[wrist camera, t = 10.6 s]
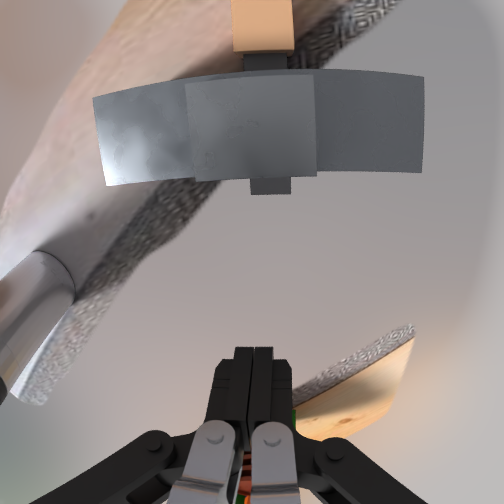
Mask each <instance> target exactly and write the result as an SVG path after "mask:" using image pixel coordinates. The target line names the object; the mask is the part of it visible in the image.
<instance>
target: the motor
mask: <svg viewBox="0 0 504 504" xmlns="http://www.w3.org/2000/svg"><path fill="white" fill-rule="evenodd" d="M292 421H293V426H294V428H295V429H296V419H295V410H292ZM251 488H252V447H251V450H250V451H244V455H243V464H242V472H241V477H240V482H239V487H238V491H237V496H236V501H235V504H250V497H251Z"/></svg>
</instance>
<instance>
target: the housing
mask: <svg viewBox="0 0 504 504" xmlns="http://www.w3.org/2000/svg"><path fill="white" fill-rule="evenodd" d="M93 106H94V114H95V121H96V128H97V135H98V141H99V147H100V153H101V159H102V164H103V170H104V175H105V180H106V185H107V186H113V185H121V184H129V183H138V182H147V181H157V180H167V179H177V178H189V177H195V180H196V182H200V181H214V180H230V179H248V178H271V177H303V176H305V177H306V176H317V171H376V172H377V171H378V172H411V173H421V172H422V159H423V141H424V77H420V76H412V75H405V74H396V73H386V72H374V71H361V70H341V69H280V70H259V71H245V72H233V73H223V74H214V75H206V76H198V77H191V78H184V79H178V80H172V81H166V82H160V83H155V84H150V85H145V86H140V87H135V88H130V89H126V90H122V91H117V92H113V93H109V94H105V95H101V96H98V97H94V98H93Z"/></svg>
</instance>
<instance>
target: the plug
mask: <svg viewBox="0 0 504 504" xmlns="http://www.w3.org/2000/svg"><path fill="white" fill-rule="evenodd" d="M231 14H232V32H233V50H234V53H236V54H237V55H238V56H239V57H240V58H243V60H244V72H245V71H259V70H280V69H288V68H287V57H288V56H292V54H293V52H294V32H293V16H292V2H291V0H231ZM250 188H251V195H265V194H267V195H268V194H291V177H271V178H250Z"/></svg>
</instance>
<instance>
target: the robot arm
mask: <svg viewBox="0 0 504 504" xmlns="http://www.w3.org/2000/svg"><path fill="white" fill-rule="evenodd" d="M74 299H75V287H74V284H73V281H72V279H71V276H70V275H69V273H68V271H67V270H66V268H65V267H64V266H63V265H62V264H61V263H60V262H59V261H58V260H57V259H56V258H54V257H53V256H51V255H50V254H47V253H45V252H41V251H36V252H33V253H30V254H29V255H28V256H27V257H26V258H25V259H24V260H22V261H21V262H20V263H19V264H18V265H17V266H16V267H14V268H13V269H12V270H11V271H10V272H9V273H8V274H7V275H6V276H4V277H3V278H2V279H1V280H0V405H1V404H2V402H3V401H4V399H5V397H6V396H7V394H8V393H9V391H10V390H11V388H12V387H13V385H14V383H15V382H16V380H17V379H18V377H19V376H20V374H21V373H22V371H23V370H24V368H25V367H26V365H27V364H28V362H29V361H30V360H31V358H32V357H33V355H34V354H35V352H36V351H37V350H38V348H39V347H40V345H41V344H42V343H43V341H44V340H45V339H46V337H47V336H48V334H49V333H50V332H51V330H52V329H53V328H54V326H55V325H56V324H57V322H58V321H59V320H60V319H61V317H62V316H63V315H64V313H65V312H66V311H67V310H68V308H69V307H70V306H71V304H72V303H73V301H74ZM251 447H252V488H251V497H250V504H301V501H300V492H299V487H301V488H305V489H309V490H310V491H311V492H312V493H313V494H314V495H315V496H316V497H317V498H318V499H319V500H320V501H321V502H322V503H323V504H428V503H426V502H425V501H423V500H422V499H421V498H419V497H418V496H417V495H415V494H414V493H413V492H411V491H410V490H409V489H407V488H406V487H405V486H404V485H402V484H401V483H400V482H398V481H397V480H396V479H394V478H393V477H392V476H391V475H390V474H388V473H387V472H386V471H385V470H383V469H382V468H381V467H380V466H378V465H377V464H376V463H375V462H373V461H372V460H371V459H370V458H368V457H367V456H366V455H365V454H364V453H362V452H361V451H360V450H359V449H358V448H357V447H355V446H354V445H353V444H352V443H350V442H349V441H348V440H346V439H343V438H339V437H333V438H328V439H325V440H323V441H322V442H321V441H317V440H313V439H309V438H306V437H304V436H302V435H300V434H299V433H298V432H297V431H296V429H295V428H294V426H293V421H292V369H291V367H290V365H289V363H288V362H287V360H286V359H282V360H281V359H280V360H279V359H278V360H277V359H276V360H274V356H273V347H255V351H254V347H236V348H235V353H234V359H222V361H221V362H220V363H219V364H218V366H217V367H216V369H215V373H214V378H213V383H212V389H211V393H210V397H209V403H208V407H207V412H206V417H205V420H204V423H203V424H202V425H201V426H200V427H199V428H198V429H197V430H196V431H194V432H192V433H190V434H186V435H180V436H174V437H170V436H169V435H168V434H167V433H165V432H163V431H159V430H152V431H148V432H146V433H144V434H142V435H141V436H139V437H138V438H136V439H135V440H133V441H132V442H130V443H129V444H127V445H126V446H125V447H123V448H121V449H120V450H118V451H117V452H115V453H114V454H112V455H111V456H109V457H108V458H106V459H104V460H103V461H101V462H100V463H98V464H97V465H95V466H93V467H92V468H90V469H88V470H87V471H85V472H84V473H82V474H80V475H79V476H77V477H76V478H74V479H72V480H70V481H68V482H67V483H65V484H63V485H62V486H60V487H58V488H56V489H55V490H53V491H51V492H49V493H47V494H46V495H44V496H42V497H40V498H38V499H37V500H35V501H33V502H31V503H29V504H162V503H163V502H164V501H166V500H167V499H168V501H167V504H235V501H236V496H237V491H238V487H239V482H240V477H241V472H242V464H243V455H244V451H250V450H251Z"/></svg>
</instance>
